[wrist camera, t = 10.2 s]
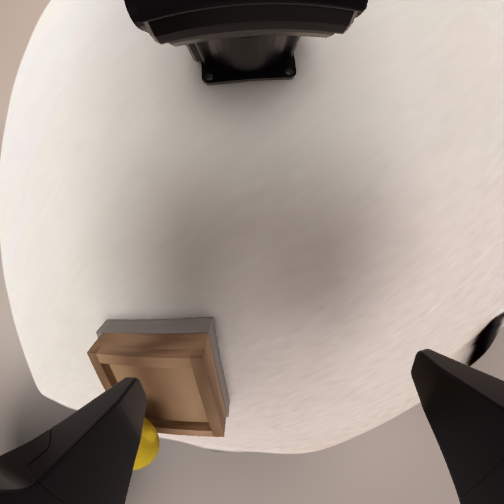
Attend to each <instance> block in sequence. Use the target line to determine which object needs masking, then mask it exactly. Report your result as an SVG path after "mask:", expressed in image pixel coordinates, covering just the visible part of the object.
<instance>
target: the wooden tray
mask: <svg viewBox="0 0 504 504" xmlns="http://www.w3.org/2000/svg"><path fill="white" fill-rule="evenodd" d="M87 354H88V356H89V358H90V360H91V363H92V365H93V367H94V369H95V371H96V373H97V375H98V377H99V379H100V381H101V383H102V385H103V387H104V389H105V391H107V390H108V389H110V388H111V387H112V386H114V385H115V384H117V383H118V382H120V381H121V380H122V379H124V378H125V377H136V378H138V379H139V380H140V382H141V384H142V386H143V389H144V391H145V393H146V396H147V404H146V410H145V416H144V417H145V418H147V419H148V420H149V421H150V422H151V424H152V425H153V426H154V427H155V428H156V430H157V433H165V434H176V435H189V436H213V437H224V432H225V421H226V409H225V405H224V401H223V397H222V392H221V388H220V384H219V379H218V375H217V370H216V366H215V361H214V356H213V351H212V346H211V341H210V336H209V333H191V334H132V333H105V332H103V333H102V334H101V336H100V337H99V338H98V339H97V341H96V342H95V343H94V344H93V346H92V347H91V348H90V349H89V351H88V352H87Z"/></svg>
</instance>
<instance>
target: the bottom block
mask: <svg viewBox="0 0 504 504" xmlns="http://www.w3.org/2000/svg"><path fill="white" fill-rule="evenodd" d="M103 332H105V333H132V334H191V333H209V336H210V341H211V346H212V351H213V356H214V361H215V366H216V370H217V375H218V379H219V384H220V388H221V392H222V397H223V401H224V405H225V409H226V417H228V416H229V404H230V400H229V395H228V391H227V386H226V382H225V377H224V373H223V368H222V363H221V358H220V353H219V348H218V343H217V338H216V333H215V327H214V322H213V317H206V318H185V319H151V320H106V321H105V322H104V324H103V325H102V326H101V327H100V328H99V329H98V331H97V332H96V333H97V336H98V338H99V337H100V336H101V334H102V333H103Z"/></svg>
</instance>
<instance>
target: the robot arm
mask: <svg viewBox="0 0 504 504" xmlns="http://www.w3.org/2000/svg"><path fill="white" fill-rule="evenodd" d="M124 1H125V5H126V8H127V11H128V13H129V16H130V18H131V19H132V21H133V23H134V24H135V25H136V26H137V27H138V28H139V29H141V30H143V31H145V32H148V33H149V34H150V35H151V37H152V38H153V39H154V40H155V41H156V42H158V43H160V44H165V43H170V44H171V45H174V46H181V45H186V46H187V47H188V49H189V51H190V53H191V55H192V57H193V59H194V60H195V61H197V62H198V61H201V65H202V79H203V82H204V83H205V84H207V85H214V84H222V83H231V82H242V81H256V80H280V79H292V78H294V77H295V75H296V66H295V59H294V51H295V48H296V45H297V43H298V40H299V37H300V36H311V37H325V38H327V37H329V36H332V35H333V34H334V33H338V34H343V33H344V32H346V31H347V30H348V28H349V27H350V26H351V24H352V23H353V21H354V19H355V18H356V17H358V16H359V15H361V13H362V12H364V10H365V9H366V7H367V2H368V0H124ZM287 70H289V71H291V72H292V74H290V75H289V74H287V73H286V72H285V71H287ZM208 76H213V78H212V79H211V80H207V77H208ZM411 375H412V379H413V381H414V384H415V387H416V390H417V392H418V395H419V398H420V401H421V404H422V407H423V410H424V412H425V414H426V417H427V419H428V421H429V423H430V426H431V428H432V430H433V432H434V435H435V437H436V439H437V442H438V444H439V446H440V449H441V451H442V454H443V456H444V459H445V461H446V463H447V466H448V469H449V471H450V474H451V477H452V480H453V483H454V485H455V488H456V491H457V494H458V497H459V501H460V504H504V381H503V380H500V379H498V378H495V377H493V376H491V375H488V374H486V373H484V372H481V371H479V370H476V369H474V368H472V367H469V366H467V365H465V364H462V363H460V362H458V361H455V360H453V359H451V358H448V357H446V356H444V355H441V354H439V353H437V352H435V351H432V350H430V349H425V350H421V351H419V352H417V354H416V356H415V360H414V363H413V366H412V370H411ZM146 404H147V396H146V393H145V391H144V389H143V386H142V384H141V382H140V380H139V379H138V378H136V377H125V378H124V379H122V380H121V381H120V382H118V383H117V384H115V385H114V386H112V387H111V388H110V389H108V390H107V391H105V392H104V393H102V394H101V395H99V396H98V397H97V398H95V399H94V400H92V401H91V402H89V403H88V404H86V405H85V406H83V407H82V408H80V409H79V410H78V411H76V412H75V413H73V414H72V415H70V416H69V417H67V418H66V419H64V420H63V421H61V422H60V423H58V424H57V425H55V426H54V427H52V428H51V429H49V430H47V431H46V432H44V433H43V434H41V435H40V436H38V437H36V438H35V439H33V440H31V441H29V442H27V443H25V444H24V445H22V446H20V447H18V448H16V449H13V450H11V451H9V452H7V453H5V454H3V455H1V456H0V504H125V500H126V496H127V492H128V487H129V483H130V479H131V475H132V471H133V467H134V463H135V459H136V456H137V452H138V448H139V444H140V440H141V435H142V429H143V422H144V416H145V410H146Z"/></svg>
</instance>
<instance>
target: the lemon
mask: <svg viewBox="0 0 504 504" xmlns="http://www.w3.org/2000/svg"><path fill="white" fill-rule="evenodd" d="M158 450H159V437H158V434H157V430H156V428H155V427H154V426H153V425H152V424H151V422H150V421H149V420H148V419H147V418H145V417H144V422H143V429H142V435H141V440H140V444H139V448H138V452H137V456H136V459H135V463H134V467H133V470H137V469H140V468H143V467H145V466H147V465H148V464H149V463H151V462H152V461H153V460H154V458H155V457H156V455H157V453H158Z"/></svg>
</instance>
